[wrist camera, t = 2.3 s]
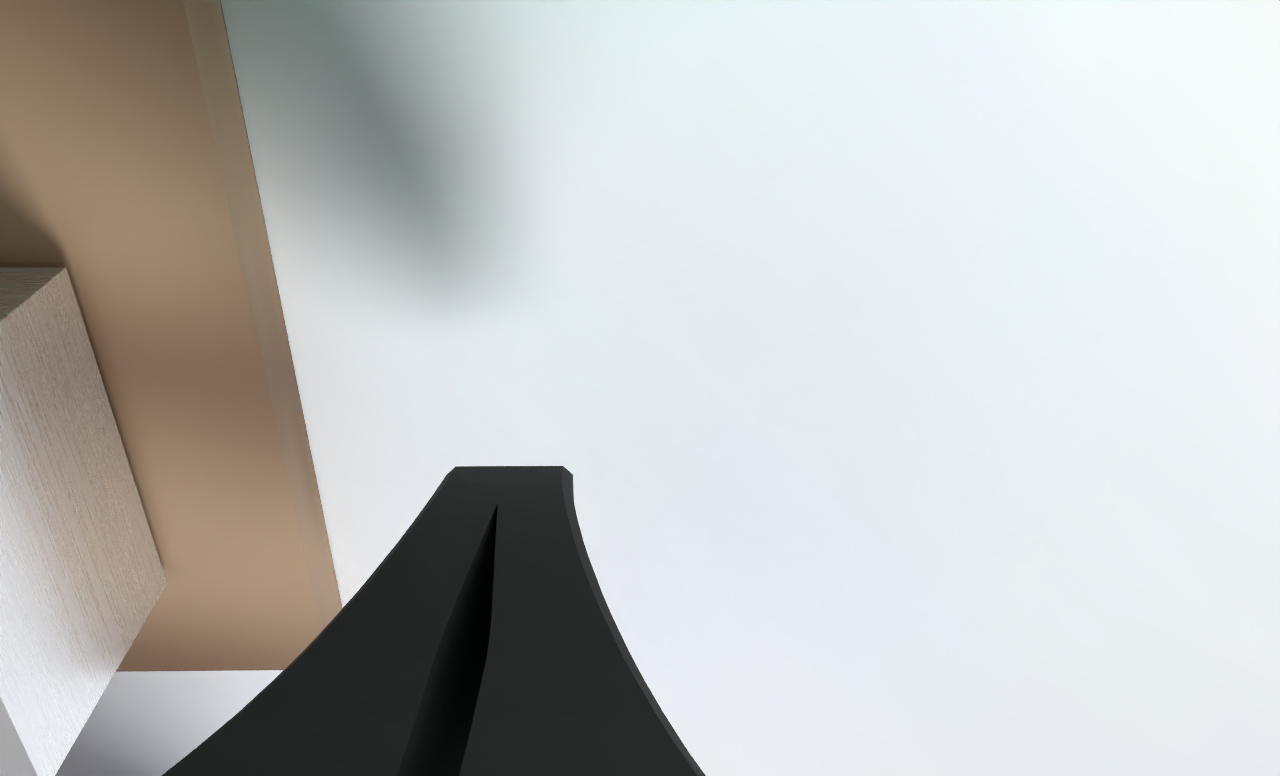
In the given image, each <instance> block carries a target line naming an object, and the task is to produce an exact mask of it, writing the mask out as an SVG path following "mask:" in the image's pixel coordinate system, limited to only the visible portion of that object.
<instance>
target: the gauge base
mask: <svg viewBox="0 0 1280 776" xmlns="http://www.w3.org/2000/svg"><path fill="white" fill-rule="evenodd" d="M0 267H66V269H67V272H68V275H69V278H70V281H71V284H72V287H73V290H74V294H75V297H76V300H77V303H78V306H79V309H80V312H81V316H82V319H83V322H84V325H85V328H86V331H87V334H88V337H89V341H90V344H91V347H92V350H93V353H94V356H95V359H96V363H97V366H98V369H99V372H100V375H101V378H102V381H103V384H104V388H105V391H106V394H107V397H108V400H109V403H110V406H111V410H112V413H113V416H114V419H115V422H116V425H117V428H118V431H119V435H120V438H121V441H122V444H123V447H124V450H125V453H126V457H127V460H128V463H129V466H130V469H131V472H132V475H133V478H134V482H135V485H136V488H137V491H138V494H139V497H140V500H141V504H142V507H143V510H144V513H145V516H146V519H147V522H148V525H149V529H150V532H151V535H152V538H153V541H154V544H155V547H156V551H157V554H158V557H159V560H160V563H161V566H162V569H163V573H164V576H165V579H166V582H167V585H166V586H165V588H164V590H163V591H162V593H161V595H160V597H159V598H158V600H157V602H156V603H155V605H154V607H153V609H152V610H151V612H150V614H149V615H148V617H147V619H146V621H145V622H144V624H143V626H142V627H141V629H140V631H139V633H138V634H137V636H136V638H135V639H134V641H133V643H132V645H131V646H130V648H129V650H128V651H127V653H126V655H125V657H124V658H123V660H122V662H121V663H120V665H119V667H118V669H117V670H116V671H221V670H285V669H286V668H287V667H288V666H289V665H290V664H291V663H292V662H293V661H294V660H295V659H296V658H297V657H298V656H299V655H300V654H301V653H302V652H303V651H304V650H305V649H306V648H307V647H308V646H309V644H310V643H311V642H312V641H313V640H314V639H315V638H316V637H317V636H318V635H319V634H320V633H321V631H322V630H323V629H324V628H325V627H326V626H327V625H328V624H329V623H330V622H331V621H332V619H333V618H334V617H335V616H336V615H337V614H338V613H339V612H340V611H341V610H342V606H341V601H340V596H339V591H338V586H337V581H336V576H335V571H334V566H333V561H332V556H331V551H330V546H329V541H328V536H327V531H326V526H325V521H324V516H323V511H322V506H321V501H320V496H319V491H318V486H317V481H316V476H315V471H314V466H313V461H312V456H311V452H310V447H309V442H308V437H307V432H306V427H305V422H304V417H303V412H302V407H301V402H300V397H299V392H298V387H297V382H296V377H295V372H294V367H293V362H292V357H291V352H290V347H289V342H288V337H287V332H286V327H285V322H284V317H283V312H282V307H281V302H280V297H279V292H278V287H277V282H276V277H275V272H274V267H273V262H272V257H271V252H270V247H269V242H268V237H267V232H266V227H265V222H264V217H263V213H262V208H261V203H260V198H259V193H258V188H257V183H256V178H255V173H254V168H253V163H252V158H251V153H250V148H249V143H248V138H247V133H246V128H245V123H244V118H243V113H242V108H241V103H240V98H239V93H238V88H237V83H236V78H235V73H234V68H233V63H232V58H231V53H230V48H229V43H228V38H227V33H226V28H225V23H224V18H223V13H222V8H221V3H220V0H0Z"/></svg>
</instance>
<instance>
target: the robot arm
mask: <svg viewBox="0 0 1280 776" xmlns="http://www.w3.org/2000/svg"><path fill="white" fill-rule="evenodd" d="M162 776H705V774H704V773H703V771H702V770H701V769H700V767H699V766H698V765H697V763H696V762H695V761H694V759H693V758H692V756H691V755H690V754H689V752H688V751H687V749H686V748H685V746H684V744H683V743H682V741H681V740H680V738H679V737H678V735H677V734H676V732H675V730H674V729H673V727H672V726H671V724H670V723H669V721H668V719H667V718H666V716H665V715H664V713H663V712H662V710H661V708H660V706H659V705H658V703H657V701H656V700H655V698H654V696H653V695H652V693H651V691H650V689H649V688H648V686H647V684H646V683H645V681H644V679H643V677H642V675H641V673H640V672H639V670H638V668H637V666H636V664H635V662H634V660H633V658H632V656H631V655H630V653H629V651H628V649H627V647H626V645H625V643H624V640H623V638H622V636H621V634H620V632H619V630H618V628H617V626H616V624H615V622H614V619H613V617H612V615H611V613H610V611H609V608H608V606H607V604H606V601H605V599H604V597H603V594H602V592H601V589H600V586H599V584H598V581H597V578H596V576H595V573H594V571H593V568H592V565H591V563H590V560H589V557H588V554H587V551H586V548H585V545H584V542H583V539H582V535H581V531H580V527H579V524H578V520H577V516H576V511H575V506H574V496H573V475H572V474H571V473H570V472H569V471H568V470H567V469H566V468H565V467H563V466H469V467H455V468H454V469H453V470H452V471H450V472H449V473H448V474H447V475H446V477H445V478H444V480H443V481H442V483H441V484H440V486H439V487H438V488H437V490H436V491H435V493H434V494H433V496H432V497H431V498H430V500H429V501H428V503H427V504H426V506H425V507H424V508H423V510H422V511H421V512H420V514H419V515H418V517H417V518H416V519H415V521H414V522H413V523H412V525H411V526H410V527H409V529H408V530H407V531H406V533H405V534H404V535H403V536H402V538H401V539H400V540H399V542H398V543H397V544H396V546H395V547H394V548H393V549H392V550H391V552H390V553H389V554H388V555H387V557H386V558H385V559H384V560H383V562H382V563H381V564H380V565H379V566H378V568H377V569H376V570H375V571H374V573H373V574H372V575H371V576H370V578H369V579H368V580H367V581H366V582H365V584H364V585H363V586H362V587H361V588H360V590H359V591H358V592H357V593H356V594H355V595H354V596H353V598H352V599H351V600H350V601H349V602H348V603H347V604H346V605H345V606H344V607H343V609H342V610H341V611H340V612H339V613H338V614H337V615H336V616H335V617H334V618H333V619H332V621H331V622H330V623H329V624H328V625H327V626H326V627H325V628H324V629H323V630H322V631H321V633H320V634H319V635H318V636H317V637H316V638H315V639H314V640H313V641H312V642H311V643H310V644H309V646H308V647H307V648H306V649H305V650H304V651H303V652H302V653H301V654H300V655H299V656H298V657H297V658H296V659H295V660H294V661H293V662H292V663H291V664H290V665H289V666H288V667H287V668H286V669H285V670H284V671H283V672H282V673H280V674H279V675H278V676H277V677H276V678H275V679H274V680H273V681H272V682H271V683H270V684H269V685H268V686H267V687H266V688H265V689H264V690H262V691H261V692H260V693H259V694H258V695H257V696H256V697H255V698H254V699H253V700H252V701H251V702H249V703H248V704H247V705H246V706H245V707H244V708H243V709H242V710H241V711H240V712H238V713H237V714H236V715H235V716H234V717H233V718H232V719H230V720H229V721H228V722H227V723H226V724H224V725H223V726H222V727H221V728H220V729H218V730H217V731H216V732H215V733H214V734H212V735H211V736H210V737H209V738H208V739H207V740H205V741H204V742H203V743H202V744H201V745H199V746H198V747H197V748H196V749H195V750H193V751H192V752H191V753H190V754H188V755H187V756H186V757H185V758H183V759H182V760H181V761H180V762H178V763H177V764H176V765H175V766H173V767H172V768H171V769H170V770H168V771H167V772H166V773H165V774H163V775H162Z"/></svg>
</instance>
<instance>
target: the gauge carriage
mask: <svg viewBox="0 0 1280 776" xmlns="http://www.w3.org/2000/svg"><path fill="white" fill-rule="evenodd" d="M166 585H167V582H166V579H165V576H164V573H163V569H162V566H161V563H160V560H159V557H158V554H157V551H156V547H155V544H154V541H153V538H152V535H151V532H150V529H149V525H148V522H147V519H146V516H145V513H144V510H143V507H142V504H141V500H140V497H139V494H138V491H137V488H136V485H135V482H134V478H133V475H132V472H131V469H130V466H129V463H128V460H127V457H126V453H125V450H124V447H123V444H122V441H121V438H120V435H119V431H118V428H117V425H116V422H115V419H114V416H113V413H112V410H111V406H110V403H109V400H108V397H107V394H106V391H105V388H104V384H103V381H102V378H101V375H100V372H99V369H98V366H97V363H96V359H95V356H94V353H93V350H92V347H91V344H90V341H89V337H88V334H87V331H86V328H85V325H84V322H83V319H82V316H81V312H80V309H79V306H78V303H77V300H76V297H75V294H74V290H73V287H72V284H71V281H70V278H69V275H68V272H67V269H66V267H0V776H55V775H56V773H57V771H58V770H59V768H60V766H61V765H62V763H63V761H64V759H65V758H66V756H67V754H68V753H69V751H70V749H71V747H72V746H73V744H74V742H75V741H76V739H77V737H78V735H79V734H80V732H81V730H82V729H83V727H84V725H85V723H86V722H87V720H88V718H89V717H90V715H91V713H92V711H93V710H94V708H95V706H96V705H97V703H98V701H99V699H100V698H101V696H102V694H103V693H104V691H105V689H106V687H107V686H108V684H109V682H110V681H111V679H112V677H113V675H114V674H115V672H116V670H117V669H118V667H119V665H120V663H121V662H122V660H123V658H124V657H125V655H126V653H127V651H128V650H129V648H130V646H131V645H132V643H133V641H134V639H135V638H136V636H137V634H138V633H139V631H140V629H141V627H142V626H143V624H144V622H145V621H146V619H147V617H148V615H149V614H150V612H151V610H152V609H153V607H154V605H155V603H156V602H157V600H158V598H159V597H160V595H161V593H162V591H163V590H164V588H165V586H166Z"/></svg>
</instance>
